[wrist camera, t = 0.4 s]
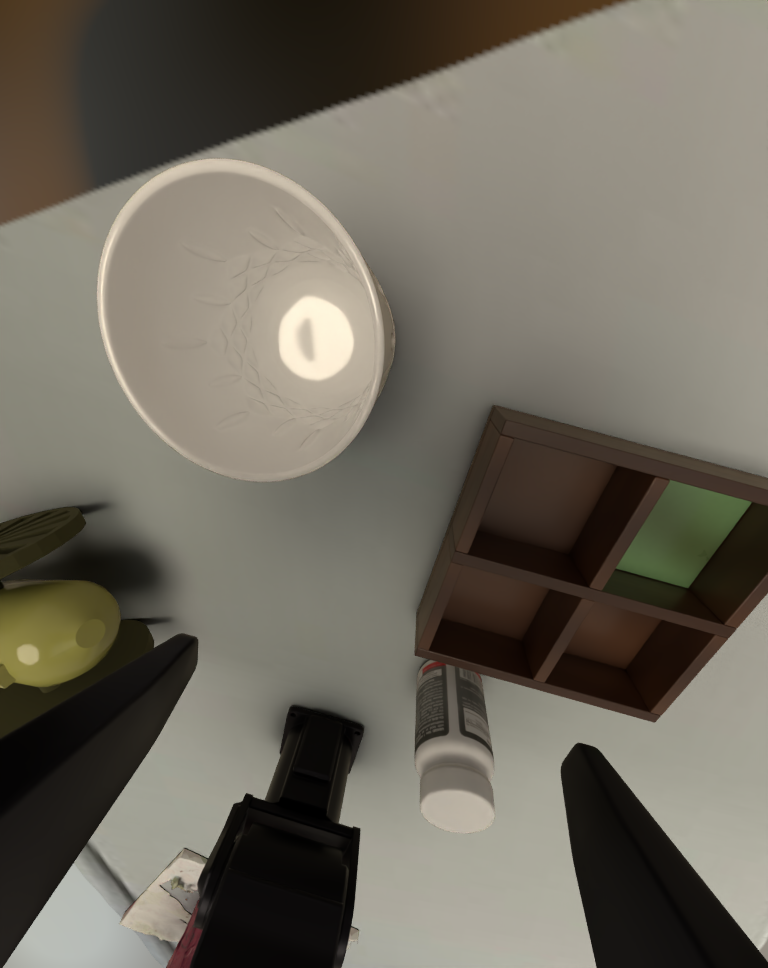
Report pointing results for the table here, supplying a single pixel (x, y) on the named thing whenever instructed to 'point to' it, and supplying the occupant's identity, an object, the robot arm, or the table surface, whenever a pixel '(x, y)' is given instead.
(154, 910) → the potted flower
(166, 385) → the white cup
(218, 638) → the table surface
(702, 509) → the rack
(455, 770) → the pill bottle
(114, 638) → the cannon
